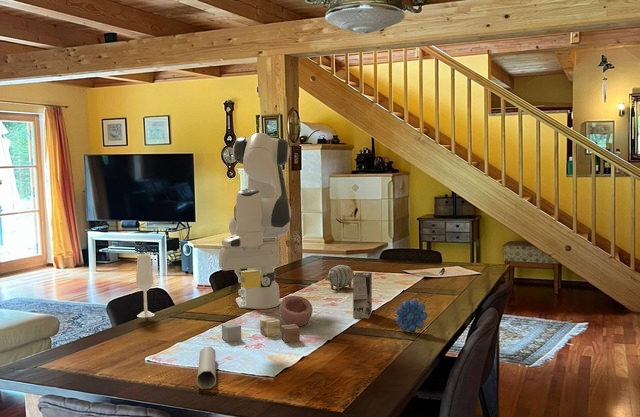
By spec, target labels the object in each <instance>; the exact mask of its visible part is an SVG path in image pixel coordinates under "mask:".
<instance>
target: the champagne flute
mask: <svg viewBox="0 0 640 417" xmlns="http://www.w3.org/2000/svg"><path fill="white" fill-rule="evenodd" d="M136 260H137V261H136V274H135V285H136V286H137V288H138V289H139V290H141V291H142V292H143V311H141V312H140V313H139V314H137V315H136V316H137V318H152V317H154V316H155V313H153V312H151V311H149V310H148V296H147V295H148V294H147V291H149V289H151V288H152V287H153V285H154V276H153V268H152V259H151V254H150V253H141V254H137V258H136Z"/></svg>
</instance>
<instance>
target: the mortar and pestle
mask: <svg viewBox="0 0 640 417" xmlns="http://www.w3.org/2000/svg"><path fill="white" fill-rule="evenodd" d="M281 300H282V302H281V304H279V308H278V309H279V310H278V311H279V316H280V318H281V320H282V322H284V324H285V325H290V324H296V325H297V326H298V327H301V326H303V325H305V324H307V323H308V322H309V320H310V319H311V317H312V314H313V305H312V303H311V302H310V301H309V300H308V299H306V298H305V297H303V296H298V295H288V296H286V297H284V298H283V299H281Z"/></svg>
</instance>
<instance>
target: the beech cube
mask: <svg viewBox="0 0 640 417" xmlns="http://www.w3.org/2000/svg"><path fill="white" fill-rule="evenodd" d="M259 323H260V324H259V326H260V333H261V335H263V336H265V337H268V338H269V337H273V335H274V336H278V335H277V334H279V335H281V320H279V319H277V318H275V317H269V318H261V319H260V320H259Z"/></svg>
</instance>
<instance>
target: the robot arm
mask: <svg viewBox="0 0 640 417" xmlns="http://www.w3.org/2000/svg"><path fill="white" fill-rule="evenodd" d="M290 155H291V148H290V145H289V142H288V140H286V139H284V138H279V137H278V138H276V137H271V136H270V135H268V134H266V133H263V132H256V133H254V134H251V136H249V137H246V136H243V137H242V136H240V137H238V138H236V140H235V141H234V144H233V146H232V156H233V158H234V160H235V162H236V163H239V164H241V165H242V166H243V170H244V173H245V174H246V175H247V188H245V189H241V190H239V191H238V192H237V193H236V199H235V205H234V208H233V211H234V214H233V216H232V217H231V218H230V220H229V222H228V223H229V224H228V230H229V233H230V234H231V235H230V236H227V237H225V238H222V239H221V245H222V247H221V248H220V250H219V254H218V255H219V257H218V267H219V269H220V270H222V271H232V270H233V271H234V273H235V274H236V277H237V278H238V279H237V281H238V283H239V284H241V283H243V282H244V277H243V276H241V271H242V269H243V270H245V269H247V270H257V271H259V272H260V282H261V287H259V288H250V289H245V288H243V287H242V286H240V289H238V291H237V292H238V295H239V297H236V298H235V302H236V303H237V306H238V307H239V308H240V309H251V310H253V309H254V310H263V309H264V310H265V309H272V308H275V307H278V306H280V304H281V302H282V300H283V299H281V298H280V287H279V286H280V285H279V283H278V282H276V275H277V274H276V271H275V267H278V266H279V265H280V264H281V254H280V248H281V246H280V241H279V239H278V238H279V237H282V236H285V235H286V234H287V233H288V232H289V231H290V226H291V219H292V209H291V205H290V202H289V199H288V192H287V188H286V182H285V177H284V172H283V169H282V166H283V165H286V164H287V163H288V160H289V159H290ZM247 270H246V271H247Z"/></svg>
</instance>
